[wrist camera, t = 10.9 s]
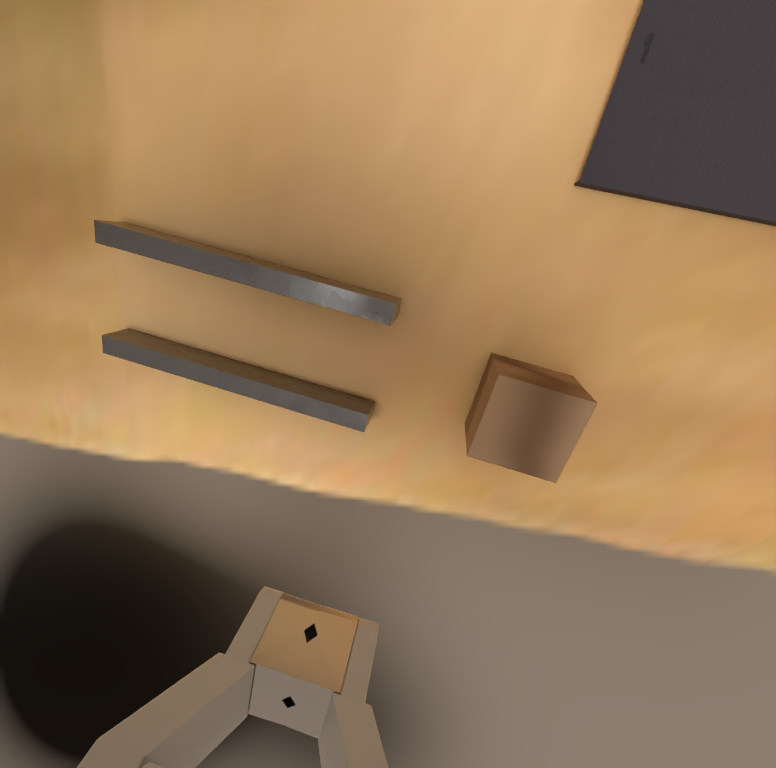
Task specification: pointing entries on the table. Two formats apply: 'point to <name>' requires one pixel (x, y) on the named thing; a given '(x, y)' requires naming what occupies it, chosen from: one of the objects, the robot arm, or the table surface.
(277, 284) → the grey parallel rails
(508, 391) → the walnut block
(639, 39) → the notebook
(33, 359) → the table surface
